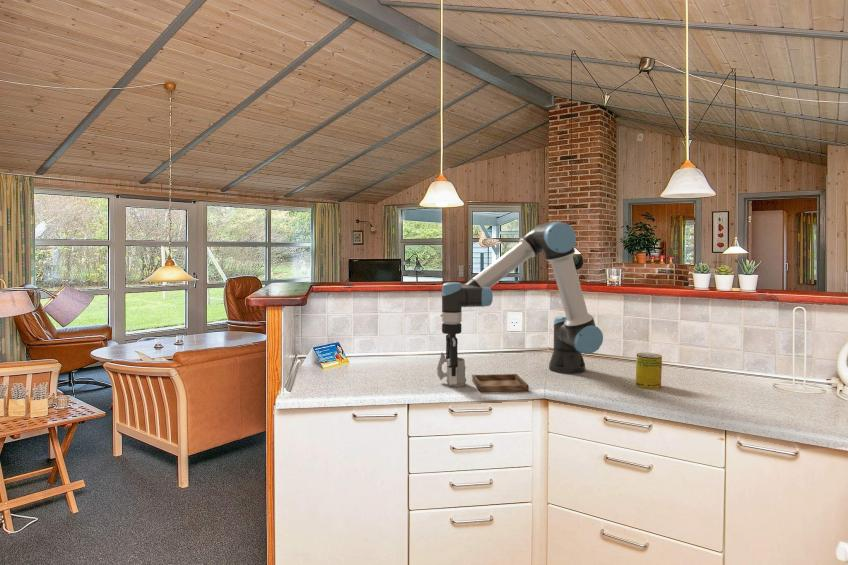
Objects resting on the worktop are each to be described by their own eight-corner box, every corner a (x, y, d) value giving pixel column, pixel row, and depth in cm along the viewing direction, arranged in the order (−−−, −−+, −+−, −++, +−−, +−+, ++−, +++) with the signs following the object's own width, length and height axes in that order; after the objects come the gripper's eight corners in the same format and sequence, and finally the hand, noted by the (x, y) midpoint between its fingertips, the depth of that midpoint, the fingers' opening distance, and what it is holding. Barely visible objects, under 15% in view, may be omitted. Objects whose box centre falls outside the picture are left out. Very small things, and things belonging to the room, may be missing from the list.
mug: (462, 387, 210) (462, 356, 209) (433, 384, 214) (433, 354, 213) (468, 382, 217) (468, 352, 216) (440, 379, 221) (440, 350, 220)
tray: (516, 379, 222) (516, 373, 221) (528, 391, 205) (528, 385, 205) (472, 380, 220) (472, 374, 220) (480, 392, 203) (480, 386, 203)
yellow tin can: (661, 390, 207) (662, 358, 206) (635, 387, 210) (636, 356, 209) (660, 384, 215) (661, 353, 214) (635, 381, 218) (636, 351, 217)
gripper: (438, 318, 222) (438, 374, 224) (445, 327, 202) (445, 388, 204) (457, 318, 223) (457, 374, 225) (465, 326, 203) (465, 388, 205)
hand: (451, 381), depth 214 cm, fingers closed on mug, 8 cm apart
